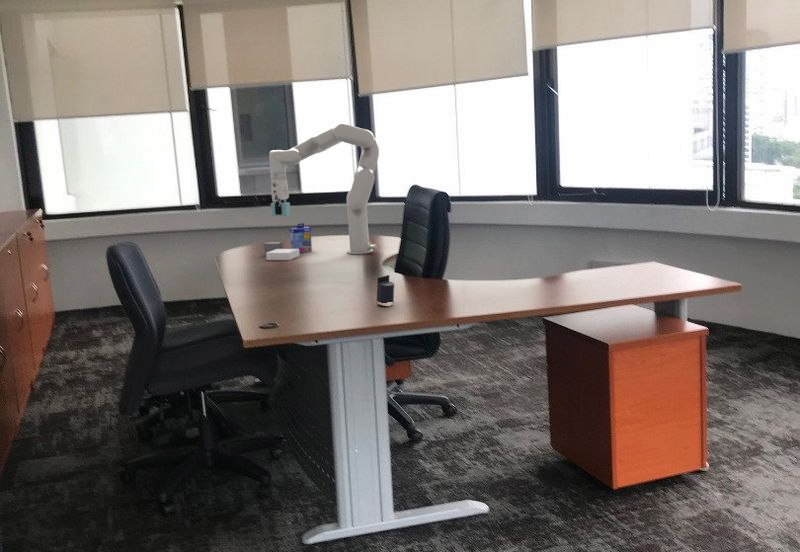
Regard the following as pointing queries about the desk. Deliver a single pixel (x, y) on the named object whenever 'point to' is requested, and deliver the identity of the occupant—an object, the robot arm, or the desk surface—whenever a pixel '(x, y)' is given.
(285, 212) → the teal brick
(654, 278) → the desk surface
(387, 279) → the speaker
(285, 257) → the white block
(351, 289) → the desk surface
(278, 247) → the grey brick
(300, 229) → the ink cartridge box
